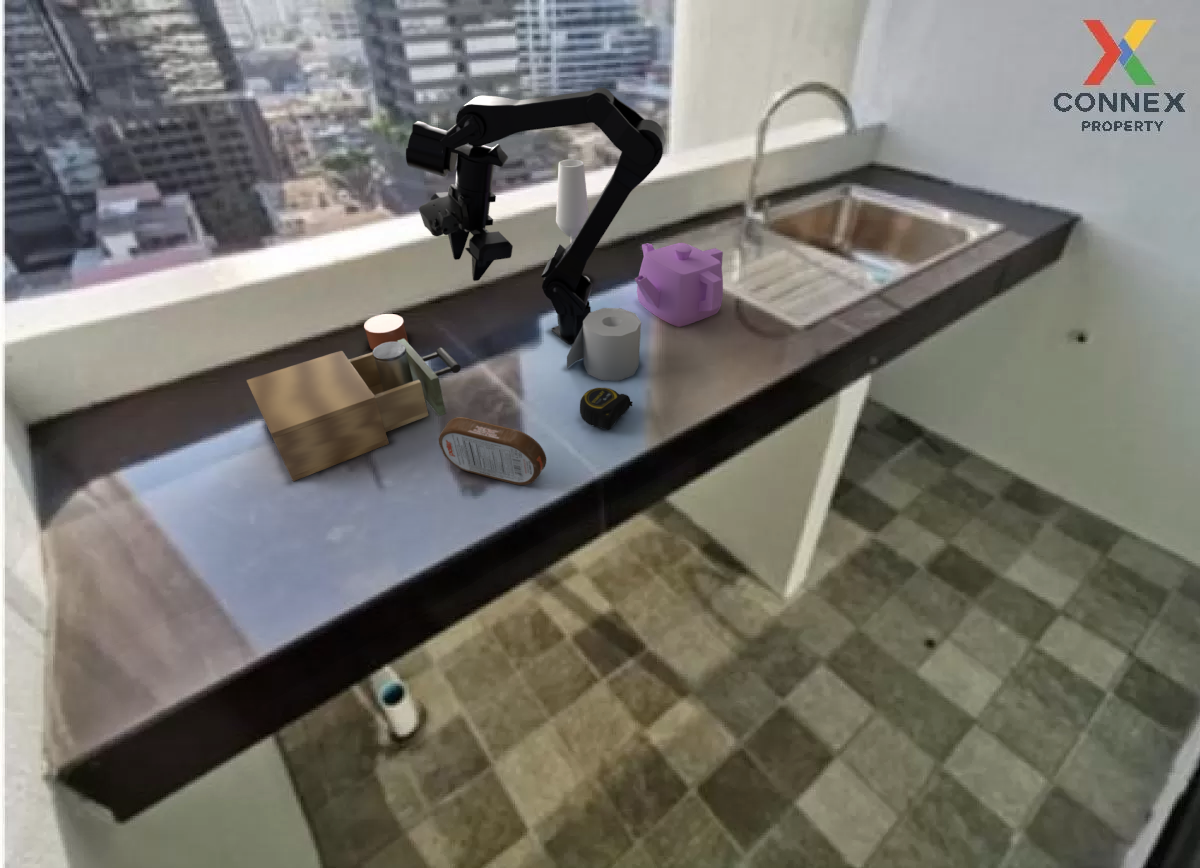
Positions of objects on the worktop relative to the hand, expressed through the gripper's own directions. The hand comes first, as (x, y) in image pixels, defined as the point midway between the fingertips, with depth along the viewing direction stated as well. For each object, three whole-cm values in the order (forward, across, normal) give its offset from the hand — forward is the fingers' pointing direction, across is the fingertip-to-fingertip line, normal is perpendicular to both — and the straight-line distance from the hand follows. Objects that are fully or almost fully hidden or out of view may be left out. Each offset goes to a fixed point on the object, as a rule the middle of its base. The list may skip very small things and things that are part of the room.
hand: (466, 269), depth 108 cm
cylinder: (+9, +18, -20) cm, 28 cm away
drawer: (+10, +18, -19) cm, 28 cm away
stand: (+14, -1, -14) cm, 19 cm away
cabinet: (+12, +18, -32) cm, 38 cm away
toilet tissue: (+4, +28, +12) cm, 31 cm away
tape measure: (+3, +39, +4) cm, 40 cm away
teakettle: (+3, +19, +36) cm, 41 cm away
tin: (+6, +40, -16) cm, 44 cm away
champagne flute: (+8, -2, +27) cm, 28 cm away
